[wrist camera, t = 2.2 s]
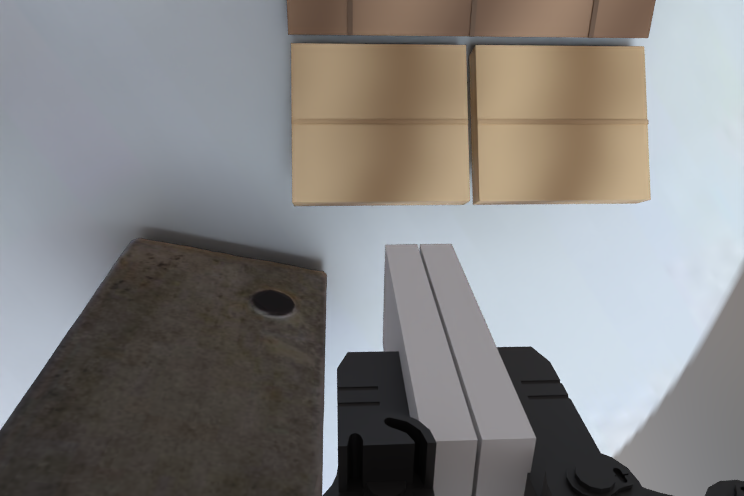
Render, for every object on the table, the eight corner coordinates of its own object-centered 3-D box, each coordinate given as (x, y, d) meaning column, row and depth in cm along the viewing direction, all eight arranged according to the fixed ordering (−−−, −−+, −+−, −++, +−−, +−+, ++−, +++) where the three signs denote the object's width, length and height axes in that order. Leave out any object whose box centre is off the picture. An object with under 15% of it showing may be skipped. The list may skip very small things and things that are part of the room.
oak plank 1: (294, 205, 25) (292, 202, 24) (293, 54, 26) (290, 42, 24) (463, 204, 26) (470, 200, 24) (460, 55, 26) (466, 43, 25)
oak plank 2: (472, 204, 26) (479, 200, 25) (469, 55, 26) (476, 44, 25) (636, 203, 26) (651, 199, 25) (630, 57, 27) (645, 45, 25)
